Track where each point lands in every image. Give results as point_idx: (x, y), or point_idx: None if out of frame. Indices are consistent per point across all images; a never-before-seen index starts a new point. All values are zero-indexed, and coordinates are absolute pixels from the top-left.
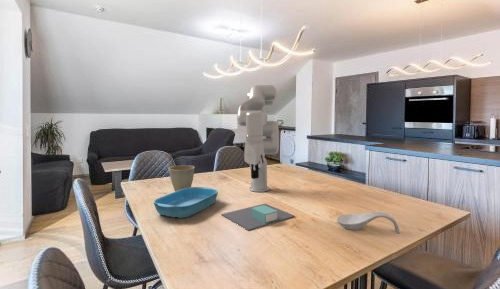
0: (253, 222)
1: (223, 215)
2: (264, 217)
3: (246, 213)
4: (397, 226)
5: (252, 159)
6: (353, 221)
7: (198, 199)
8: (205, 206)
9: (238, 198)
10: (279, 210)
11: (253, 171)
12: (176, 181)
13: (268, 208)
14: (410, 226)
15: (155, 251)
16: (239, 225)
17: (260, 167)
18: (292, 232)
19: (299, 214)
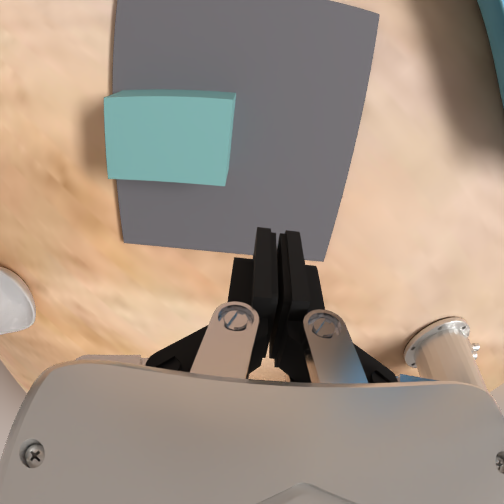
0: (164, 51)
1: (358, 8)
2: (115, 94)
3: (290, 102)
4: None
5: (141, 489)
6: (22, 306)
7: None
8: (489, 36)
9: (460, 235)
10: (208, 242)
11: (254, 292)
12: None
13: (161, 167)
14: (4, 344)
15: None
16: None
17: (91, 357)
18: (25, 135)
19: (138, 268)
